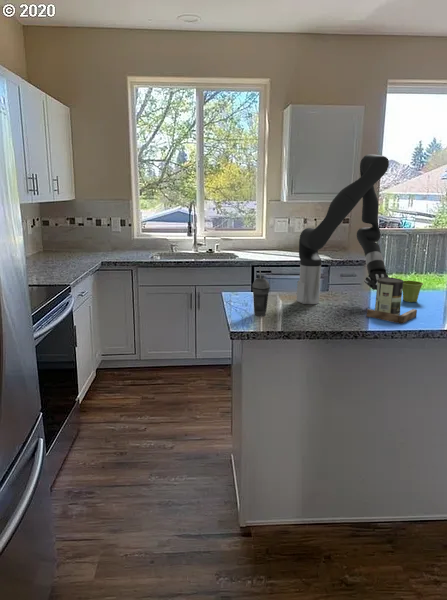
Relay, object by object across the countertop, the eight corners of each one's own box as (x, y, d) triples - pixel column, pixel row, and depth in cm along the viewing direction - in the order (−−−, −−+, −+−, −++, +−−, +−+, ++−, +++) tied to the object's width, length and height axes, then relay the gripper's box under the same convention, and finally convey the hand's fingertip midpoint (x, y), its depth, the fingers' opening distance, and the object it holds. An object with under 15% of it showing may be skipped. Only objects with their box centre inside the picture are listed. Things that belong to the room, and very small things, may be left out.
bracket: (365, 315, 187) (366, 308, 186) (415, 315, 187) (415, 308, 187) (374, 323, 176) (375, 316, 175) (427, 323, 177) (428, 316, 176)
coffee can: (397, 309, 195) (400, 277, 192) (402, 316, 186) (406, 282, 182) (372, 308, 197) (375, 276, 193) (376, 315, 187) (379, 281, 184)
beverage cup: (257, 318, 181) (258, 269, 176) (247, 313, 188) (249, 265, 182) (272, 316, 185) (274, 267, 180) (262, 311, 191) (264, 264, 186)
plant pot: (418, 304, 205) (421, 285, 202) (397, 301, 209) (399, 283, 207) (422, 300, 212) (424, 282, 210) (401, 297, 217) (403, 279, 215)
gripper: (363, 259, 200) (370, 292, 192) (392, 259, 201) (401, 292, 192) (358, 268, 207) (365, 301, 198) (386, 268, 207) (394, 301, 199)
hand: (382, 297), depth 195 cm, fingers closed
